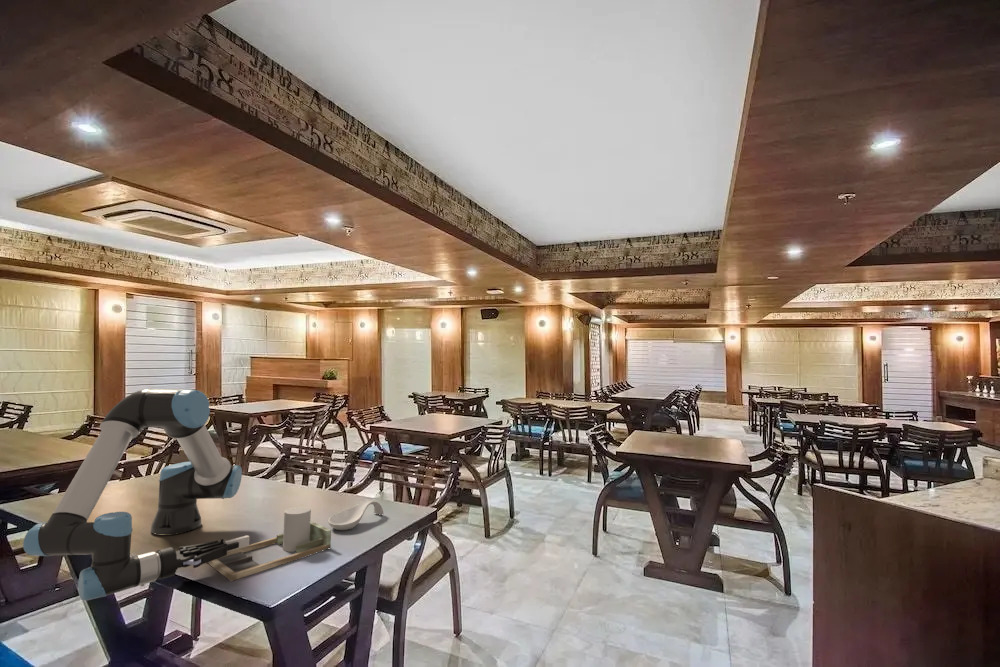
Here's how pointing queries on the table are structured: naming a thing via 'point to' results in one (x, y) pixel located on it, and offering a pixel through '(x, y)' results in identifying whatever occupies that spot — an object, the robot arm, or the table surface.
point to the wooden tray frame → (243, 565)
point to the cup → (296, 527)
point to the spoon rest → (352, 515)
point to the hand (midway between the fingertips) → (248, 540)
